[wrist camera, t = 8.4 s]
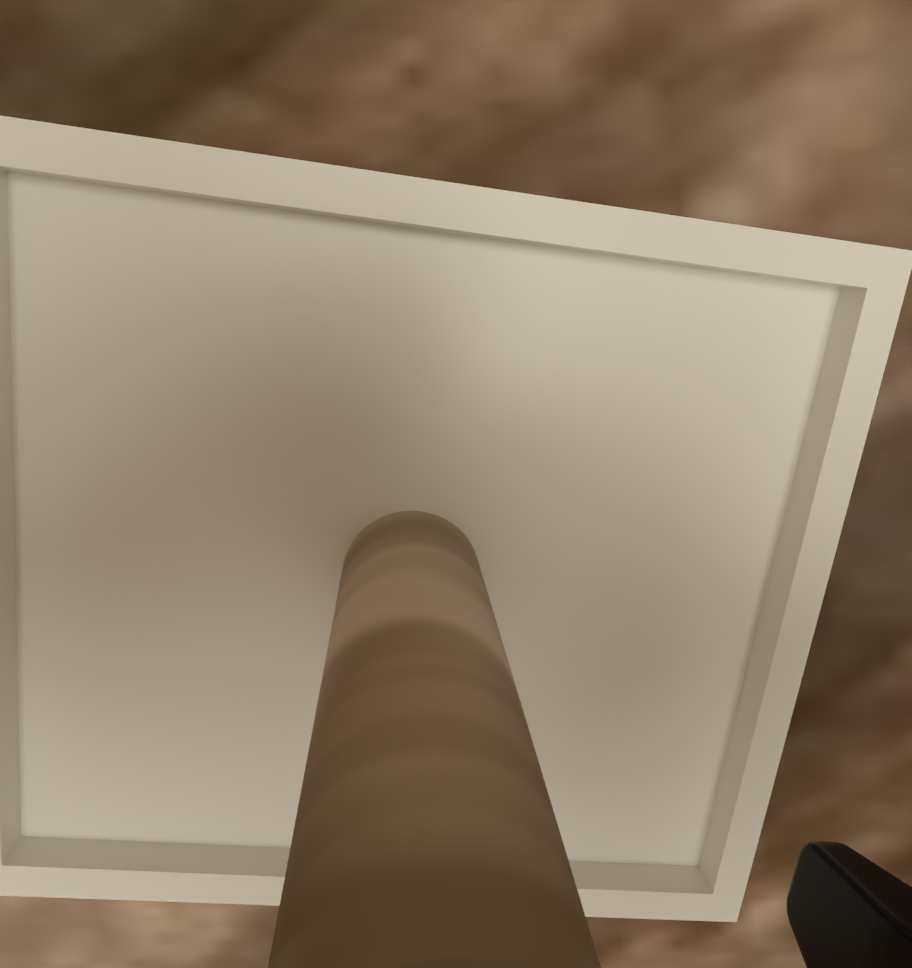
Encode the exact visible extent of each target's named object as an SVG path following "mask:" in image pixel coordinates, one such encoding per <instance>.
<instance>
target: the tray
mask: <svg viewBox="0 0 912 968" xmlns="http://www.w3.org/2000/svg"><path fill="white" fill-rule="evenodd" d="M911 269H912V251H910V250H904V249H897V248H890V247H883V246H877V245H870V244H863V243H856V242H850V241H843V240H836V239H829V238H823V237H816V236H809V235H802V234H796V233H789V232H782V231H775V230H769V229H762V228H755V227H748V226H742V225H735V224H728V223H722V222H715V221H708V220H701V219H695V218H688V217H681V216H674V215H668V214H661V213H654V212H647V211H641V210H634V209H627V208H620V207H614V206H607V205H600V204H593V203H587V202H580V201H573V200H566V199H560V198H553V197H546V196H539V195H533V194H526V193H519V192H512V191H506V190H499V189H492V188H485V187H479V186H472V185H465V184H458V183H452V182H445V181H438V180H431V179H425V178H418V177H411V176H404V175H398V174H391V173H384V172H377V171H371V170H364V169H357V168H350V167H344V166H337V165H330V164H323V163H317V162H310V161H303V160H296V159H290V158H283V157H276V156H269V155H263V154H256V153H249V152H242V151H236V150H229V149H222V148H215V147H209V146H202V145H195V144H188V143H182V142H175V141H168V140H161V139H155V138H148V137H141V136H134V135H128V134H121V133H114V132H107V131H101V130H94V129H87V128H80V127H74V126H67V125H60V124H53V123H47V122H40V121H33V120H26V119H20V118H13V117H6V116H0V896H27V897H55V898H83V899H110V900H138V901H166V902H194V903H221V904H249V905H277V906H280V901H281V896H282V890H283V885H284V880H285V874H286V869H287V863H288V858H289V853H290V847H291V842H292V837H293V831H294V826H295V821H296V815H297V810H298V805H299V799H300V794H301V788H302V783H303V778H304V772H305V767H306V762H307V756H308V751H309V746H310V740H311V735H312V729H313V724H314V719H315V713H316V708H317V703H318V697H319V692H320V687H321V681H322V676H323V671H324V665H325V660H326V654H327V649H328V644H329V638H330V633H331V628H332V622H333V617H334V612H335V606H336V601H337V596H338V590H339V585H340V579H341V574H342V569H343V563H344V560H345V556H346V553H347V551H348V549H349V547H350V545H351V544H352V542H353V541H354V539H355V538H356V537H357V536H358V534H359V533H360V532H361V531H362V530H363V529H365V528H366V527H367V526H368V525H370V524H371V523H373V522H374V521H376V520H378V519H380V518H382V517H384V516H387V515H390V514H393V513H397V512H404V511H420V512H426V513H431V514H434V515H437V516H439V517H442V518H444V519H446V520H447V521H449V522H451V523H452V524H454V525H455V526H456V527H457V528H459V529H460V530H461V531H462V532H463V534H464V535H465V536H466V537H467V539H468V540H469V541H470V543H471V545H472V547H473V549H474V551H475V554H476V556H477V559H478V563H479V566H480V569H481V573H482V576H483V579H484V583H485V586H486V589H487V592H488V596H489V599H490V602H491V606H492V609H493V612H494V616H495V619H496V622H497V626H498V629H499V632H500V636H501V639H502V642H503V645H504V649H505V652H506V655H507V659H508V662H509V665H510V669H511V672H512V675H513V679H514V682H515V685H516V688H517V692H518V695H519V698H520V702H521V705H522V708H523V712H524V715H525V718H526V722H527V725H528V728H529V732H530V735H531V738H532V741H533V745H534V748H535V751H536V755H537V758H538V761H539V765H540V768H541V771H542V775H543V778H544V781H545V784H546V788H547V791H548V794H549V798H550V801H551V804H552V808H553V811H554V814H555V818H556V821H557V824H558V828H559V831H560V834H561V837H562V841H563V844H564V847H565V851H566V854H567V857H568V861H569V864H570V867H571V871H572V874H573V877H574V880H575V884H576V887H577V890H578V894H579V897H580V900H581V904H582V907H583V910H584V914H585V917H609V918H637V919H664V920H692V921H720V922H737V919H738V915H739V912H740V908H741V904H742V901H743V897H744V893H745V889H746V886H747V882H748V878H749V874H750V871H751V867H752V863H753V859H754V856H755V852H756V848H757V844H758V841H759V837H760V833H761V829H762V826H763V822H764V818H765V815H766V811H767V807H768V803H769V800H770V796H771V792H772V788H773V785H774V781H775V777H776V773H777V770H778V766H779V762H780V758H781V755H782V751H783V747H784V744H785V740H786V736H787V732H788V729H789V725H790V721H791V717H792V714H793V710H794V706H795V702H796V699H797V695H798V691H799V687H800V684H801V680H802V676H803V673H804V669H805V665H806V661H807V658H808V654H809V650H810V646H811V643H812V639H813V635H814V631H815V628H816V624H817V620H818V616H819V613H820V609H821V605H822V602H823V598H824V594H825V590H826V587H827V583H828V579H829V575H830V572H831V568H832V564H833V560H834V557H835V553H836V549H837V545H838V542H839V538H840V534H841V530H842V527H843V523H844V519H845V516H846V512H847V508H848V504H849V501H850V497H851V493H852V489H853V486H854V482H855V478H856V474H857V471H858V467H859V463H860V459H861V456H862V452H863V448H864V445H865V441H866V437H867V433H868V430H869V426H870V422H871V418H872V415H873V411H874V407H875V403H876V400H877V396H878V392H879V388H880V385H881V381H882V377H883V374H884V370H885V366H886V362H887V359H888V355H889V351H890V347H891V344H892V340H893V336H894V332H895V329H896V325H897V321H898V317H899V314H900V310H901V306H902V302H903V299H904V295H905V291H906V288H907V284H908V280H909V276H910V273H911Z"/></svg>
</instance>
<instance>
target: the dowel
mask: <svg viewBox="0 0 912 968" xmlns="http://www.w3.org/2000/svg"><path fill="white" fill-rule="evenodd" d="M268 968H601V967H600V963H599V960H598V957H597V953H596V950H595V947H594V943H593V940H592V937H591V933H590V930H589V927H588V924H587V920H586V917H585V914H584V910H583V907H582V904H581V900H580V897H579V894H578V890H577V887H576V884H575V880H574V877H573V874H572V871H571V867H570V864H569V861H568V857H567V854H566V851H565V847H564V844H563V841H562V837H561V834H560V831H559V828H558V824H557V821H556V818H555V814H554V811H553V808H552V804H551V801H550V798H549V794H548V791H547V788H546V784H545V781H544V778H543V775H542V771H541V768H540V765H539V761H538V758H537V755H536V751H535V748H534V745H533V741H532V738H531V735H530V732H529V728H528V725H527V722H526V718H525V715H524V712H523V708H522V705H521V702H520V698H519V695H518V692H517V688H516V685H515V682H514V679H513V675H512V672H511V669H510V665H509V662H508V659H507V655H506V652H505V649H504V645H503V642H502V639H501V636H500V632H499V629H498V626H497V622H496V619H495V616H494V612H493V609H492V606H491V602H490V599H489V596H488V592H487V589H486V586H485V583H484V579H483V576H482V573H481V569H480V566H479V563H478V559H477V556H476V554H475V551H474V549H473V547H472V545H471V543H470V541H469V540H468V539H467V537H466V536H465V535H464V534H463V532H462V531H461V530H460V529H459V528H457V527H456V526H455V525H454V524H452V523H451V522H449V521H447V520H446V519H444V518H442V517H439V516H437V515H434V514H431V513H426V512H420V511H404V512H397V513H393V514H390V515H387V516H384V517H382V518H380V519H378V520H376V521H374V522H373V523H371V524H370V525H368V526H367V527H366V528H365V529H363V530H362V531H361V532H360V533H359V534H358V536H357V537H356V538H355V539H354V541H353V542H352V544H351V545H350V547H349V549H348V551H347V553H346V556H345V560H344V563H343V569H342V574H341V579H340V585H339V590H338V596H337V601H336V606H335V612H334V617H333V622H332V628H331V633H330V638H329V644H328V649H327V654H326V660H325V665H324V671H323V676H322V681H321V687H320V692H319V697H318V703H317V708H316V713H315V719H314V724H313V729H312V735H311V740H310V746H309V751H308V756H307V762H306V767H305V772H304V778H303V783H302V788H301V794H300V799H299V805H298V810H297V815H296V821H295V826H294V831H293V837H292V842H291V847H290V853H289V858H288V863H287V869H286V874H285V880H284V885H283V890H282V896H281V901H280V906H279V912H278V917H277V922H276V928H275V933H274V938H273V944H272V949H271V955H270V960H269V965H268Z"/></svg>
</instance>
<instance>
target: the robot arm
mask: <svg viewBox="0 0 912 968" xmlns="http://www.w3.org/2000/svg"><path fill="white" fill-rule="evenodd" d="M787 913H788V918H789V921H790V925H791V927H792V930H793V932H794V935H795V938H796V940H797V943H798V945H799V948H800V951H801V953H802V956H803V958H804V961H805V964H806V966H807V968H912V887H911V886H909V885H907V884H906V883H904V882H903V881H901V880H900V879H898V878H896V877H895V876H893V875H892V874H890V873H889V872H887V871H885V870H884V869H882V868H881V867H879V866H878V865H876V864H874V863H873V862H871V861H870V860H868V859H867V858H865V857H863V856H862V855H860V854H859V853H857V852H856V851H854V850H853V849H851V848H849V847H848V846H846V845H844V844H842V843H838V842H823V841H810V842H807V843H806V844H805V845H804V846H803V847H802V848H801V851H800V854H799V857H798V861H797V864H796V868H795V871H794V875H793V878H792V882H791V885H790V889H789V892H788V896H787Z"/></svg>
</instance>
